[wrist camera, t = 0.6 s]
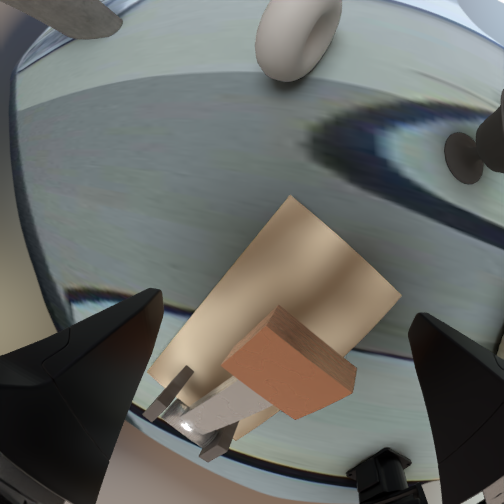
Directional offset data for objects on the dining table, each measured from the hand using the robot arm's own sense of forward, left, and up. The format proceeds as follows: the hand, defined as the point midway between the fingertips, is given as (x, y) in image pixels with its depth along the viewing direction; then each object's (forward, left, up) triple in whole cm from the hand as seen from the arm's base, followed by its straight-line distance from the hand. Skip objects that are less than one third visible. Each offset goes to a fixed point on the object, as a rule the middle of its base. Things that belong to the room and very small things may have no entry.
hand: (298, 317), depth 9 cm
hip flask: (+43, -7, -14) cm, 46 cm away
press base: (-2, +8, -14) cm, 16 cm away
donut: (+11, -14, -14) cm, 23 cm away
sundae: (-6, -17, -14) cm, 23 cm away
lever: (-2, +9, -6) cm, 11 cm away
